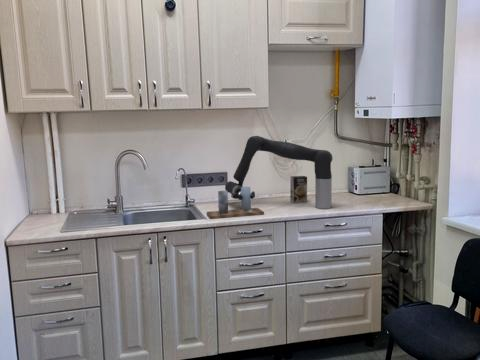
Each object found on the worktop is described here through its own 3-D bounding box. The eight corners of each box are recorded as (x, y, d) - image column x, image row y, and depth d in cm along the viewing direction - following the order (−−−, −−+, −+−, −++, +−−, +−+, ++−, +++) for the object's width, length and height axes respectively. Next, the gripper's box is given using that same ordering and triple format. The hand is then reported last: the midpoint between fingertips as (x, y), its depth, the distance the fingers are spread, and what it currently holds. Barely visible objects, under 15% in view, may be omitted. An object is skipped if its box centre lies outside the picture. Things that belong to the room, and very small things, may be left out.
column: (244, 207, 247) (243, 186, 246) (252, 208, 245) (252, 187, 243) (239, 209, 243) (239, 188, 241) (247, 210, 240) (247, 188, 238)
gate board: (257, 210, 252) (257, 187, 250) (264, 214, 240) (263, 190, 238) (206, 214, 245) (205, 190, 243) (210, 219, 233) (209, 194, 231)
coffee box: (294, 203, 269) (293, 177, 267) (290, 201, 276) (289, 176, 273) (307, 202, 272) (307, 176, 269) (303, 200, 278) (303, 175, 276)
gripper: (227, 187, 254) (234, 191, 238) (251, 185, 258) (259, 189, 241) (228, 199, 255) (234, 205, 239) (251, 197, 259) (259, 203, 242)
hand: (247, 197), depth 240 cm, fingers open, 5 cm apart
